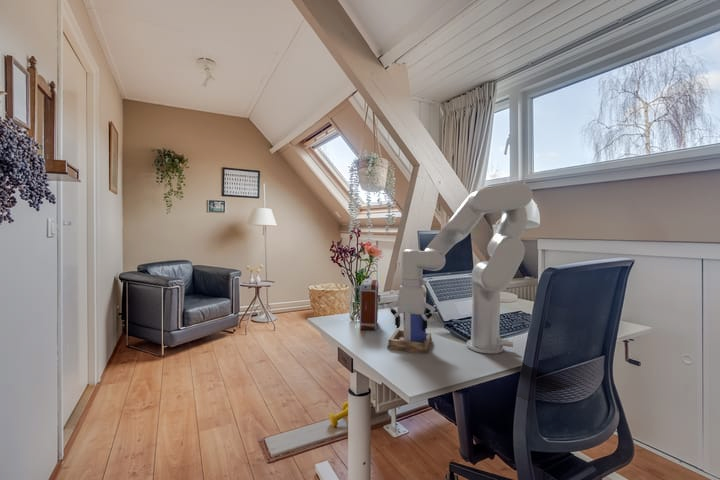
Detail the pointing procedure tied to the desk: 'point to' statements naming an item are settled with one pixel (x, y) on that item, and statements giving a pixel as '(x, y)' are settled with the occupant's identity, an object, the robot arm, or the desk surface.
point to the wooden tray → (408, 343)
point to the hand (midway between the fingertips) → (411, 328)
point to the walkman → (413, 327)
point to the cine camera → (369, 304)
